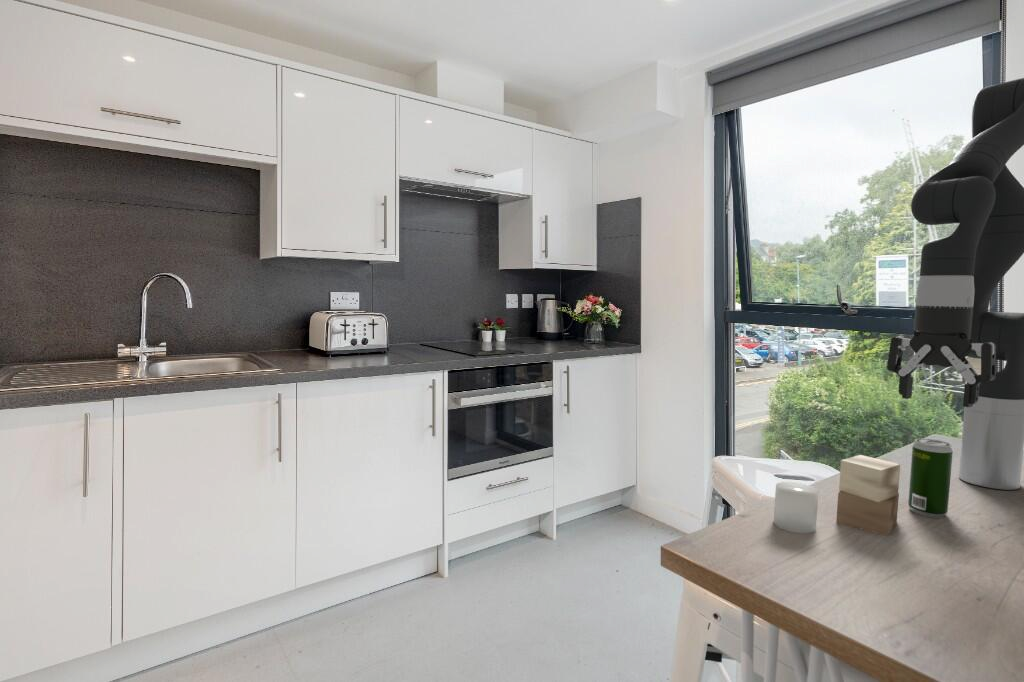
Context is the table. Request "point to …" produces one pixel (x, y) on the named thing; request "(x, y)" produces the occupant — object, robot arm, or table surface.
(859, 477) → the top block
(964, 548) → the table surface
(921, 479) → the guarana soda can
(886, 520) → the base block
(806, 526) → the white rounded cylinder
